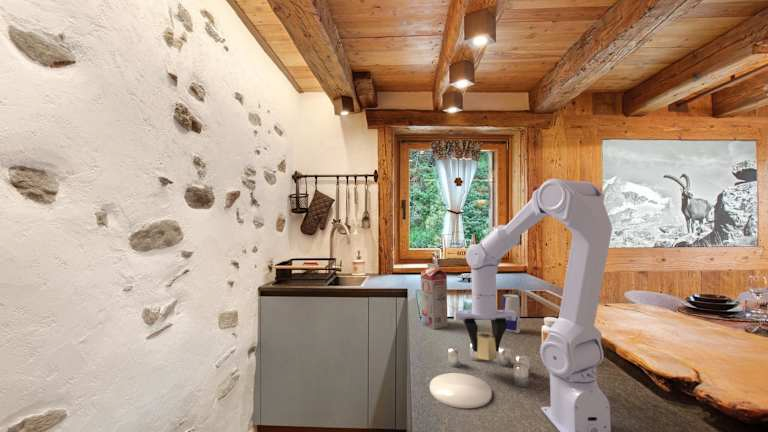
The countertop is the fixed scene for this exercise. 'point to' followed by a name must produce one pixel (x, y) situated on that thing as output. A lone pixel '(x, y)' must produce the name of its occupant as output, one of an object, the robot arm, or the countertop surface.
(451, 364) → the spacer field
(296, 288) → the countertop surface
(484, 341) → the brass nut
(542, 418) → the countertop surface
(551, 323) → the supplement bottle
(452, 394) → the ceramic plate
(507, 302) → the energy drink
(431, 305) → the juice carton
